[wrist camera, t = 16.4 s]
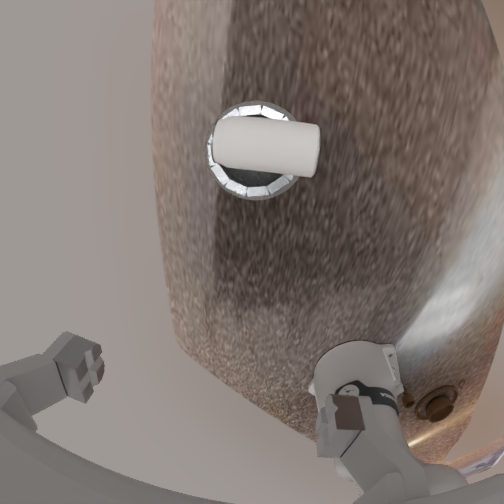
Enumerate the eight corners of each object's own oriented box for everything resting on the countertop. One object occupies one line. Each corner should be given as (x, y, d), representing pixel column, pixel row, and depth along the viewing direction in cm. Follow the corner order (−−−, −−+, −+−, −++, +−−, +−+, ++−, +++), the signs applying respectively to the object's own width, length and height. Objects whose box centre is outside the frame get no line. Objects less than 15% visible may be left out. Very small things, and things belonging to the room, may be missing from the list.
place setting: (406, 426, 59) (411, 442, 54) (393, 385, 54) (400, 405, 48) (464, 396, 55) (472, 411, 50) (461, 349, 50) (473, 365, 44)
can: (313, 189, 34) (212, 177, 35) (313, 158, 38) (224, 148, 39) (322, 143, 29) (208, 131, 30) (320, 116, 32) (222, 106, 33)
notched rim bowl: (325, 164, 39) (329, 166, 36) (243, 217, 43) (241, 223, 40) (268, 83, 36) (267, 78, 33) (187, 140, 40) (180, 140, 37)
